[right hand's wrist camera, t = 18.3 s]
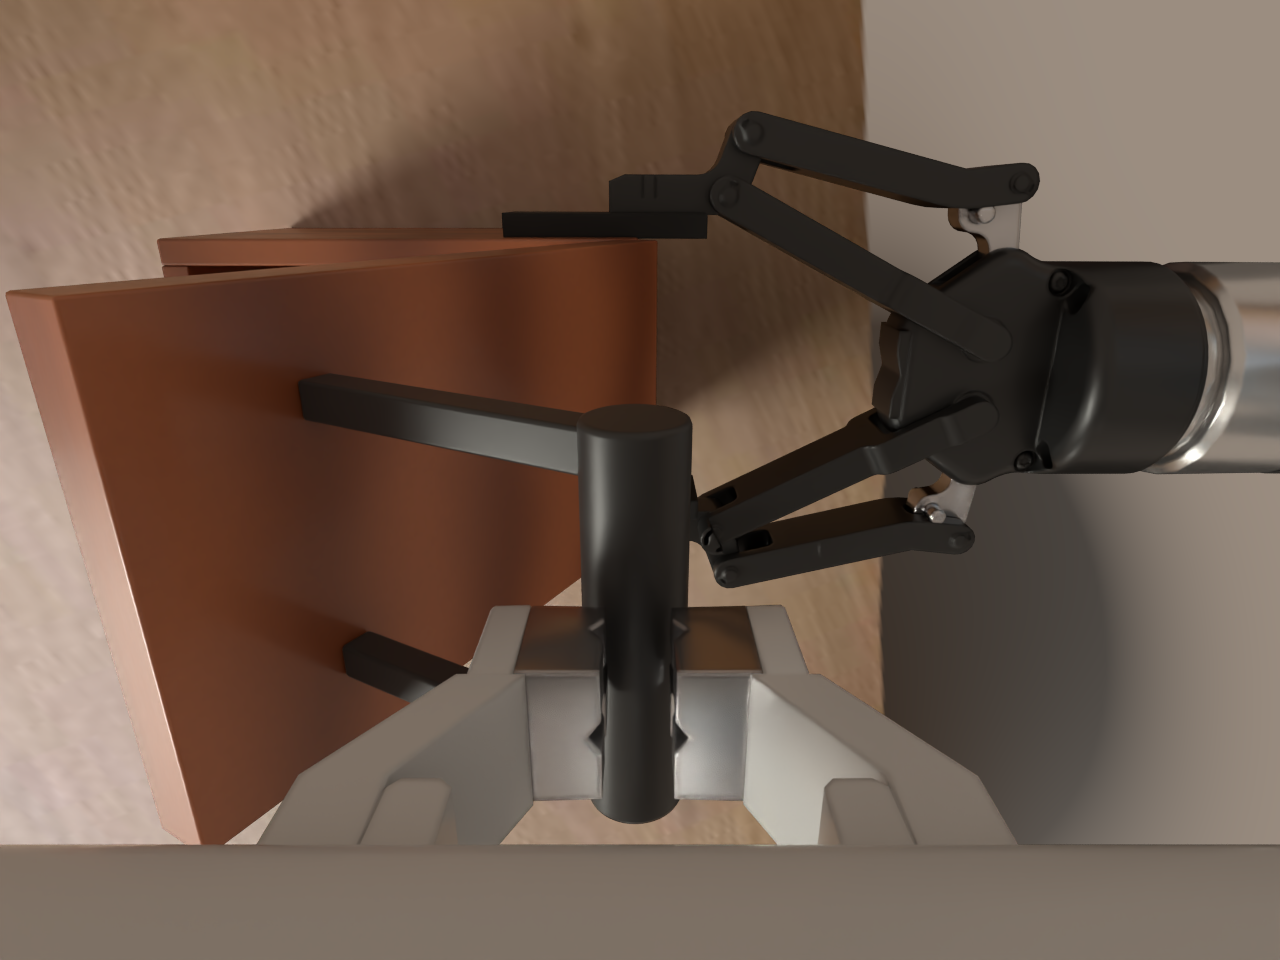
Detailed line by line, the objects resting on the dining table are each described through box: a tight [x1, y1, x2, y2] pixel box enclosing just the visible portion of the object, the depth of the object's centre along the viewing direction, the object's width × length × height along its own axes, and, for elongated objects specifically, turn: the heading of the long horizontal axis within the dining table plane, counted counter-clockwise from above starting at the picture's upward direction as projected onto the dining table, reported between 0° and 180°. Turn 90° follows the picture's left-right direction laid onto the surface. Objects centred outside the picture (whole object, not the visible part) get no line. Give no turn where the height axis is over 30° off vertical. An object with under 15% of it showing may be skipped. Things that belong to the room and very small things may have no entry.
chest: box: [157, 228, 638, 278], centre depth 29 cm, size 15×9×9 cm, turn 90°
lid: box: [6, 239, 692, 845], centre depth 16 cm, size 16×9×8 cm
